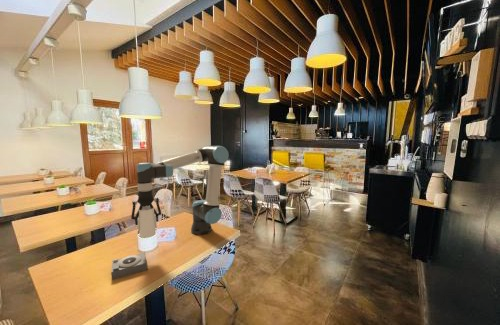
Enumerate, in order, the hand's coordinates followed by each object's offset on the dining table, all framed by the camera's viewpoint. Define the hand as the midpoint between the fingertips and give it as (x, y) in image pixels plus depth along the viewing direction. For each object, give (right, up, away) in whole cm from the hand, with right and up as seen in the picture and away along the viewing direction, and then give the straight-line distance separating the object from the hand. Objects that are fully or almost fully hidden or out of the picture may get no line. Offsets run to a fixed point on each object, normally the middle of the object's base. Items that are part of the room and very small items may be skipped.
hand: (147, 228), depth 126 cm
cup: (0, -4, 0) cm, 4 cm away
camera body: (-5, -19, -9) cm, 22 cm away
